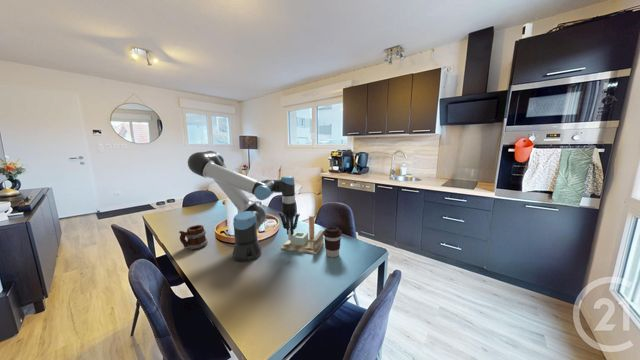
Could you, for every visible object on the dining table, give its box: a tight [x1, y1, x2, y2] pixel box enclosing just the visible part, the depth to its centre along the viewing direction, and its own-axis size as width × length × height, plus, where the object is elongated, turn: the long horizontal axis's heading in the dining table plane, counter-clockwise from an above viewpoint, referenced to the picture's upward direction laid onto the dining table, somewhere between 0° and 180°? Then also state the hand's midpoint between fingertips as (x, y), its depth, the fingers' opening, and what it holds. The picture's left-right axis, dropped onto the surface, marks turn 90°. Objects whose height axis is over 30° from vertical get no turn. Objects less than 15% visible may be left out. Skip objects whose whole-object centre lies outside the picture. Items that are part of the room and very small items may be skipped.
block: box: [290, 230, 309, 247], centre depth 131 cm, size 8×8×6 cm
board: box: [280, 229, 325, 255], centre depth 130 cm, size 22×14×8 cm, turn 73°
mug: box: [178, 224, 209, 251], centre depth 130 cm, size 12×14×15 cm
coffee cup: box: [323, 226, 343, 258], centre depth 119 cm, size 10×10×15 cm
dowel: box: [308, 215, 315, 240], centre depth 139 cm, size 3×3×15 cm
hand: (290, 239), depth 132 cm, fingers closed
